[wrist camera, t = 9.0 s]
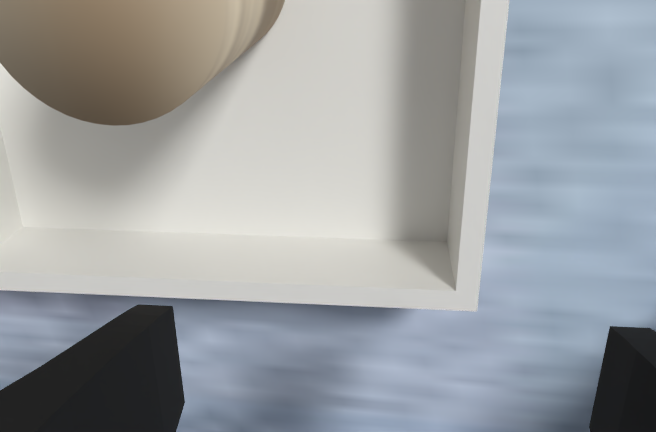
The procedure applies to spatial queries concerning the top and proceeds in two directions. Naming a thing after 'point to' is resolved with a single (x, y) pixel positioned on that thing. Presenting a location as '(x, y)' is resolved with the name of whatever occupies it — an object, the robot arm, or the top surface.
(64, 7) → the birch cylinder
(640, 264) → the top surface
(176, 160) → the tray
